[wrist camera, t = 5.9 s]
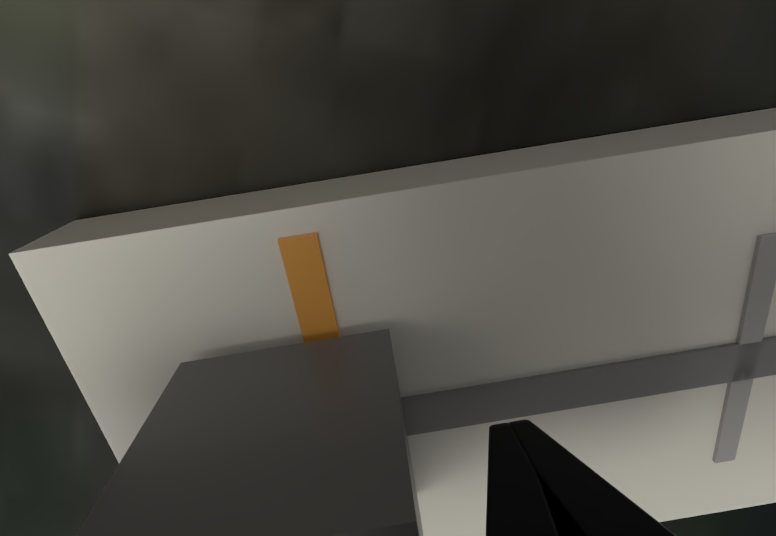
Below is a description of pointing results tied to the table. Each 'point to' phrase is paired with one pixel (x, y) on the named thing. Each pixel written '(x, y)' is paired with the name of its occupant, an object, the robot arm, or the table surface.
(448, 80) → the table surface
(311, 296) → the slider track board
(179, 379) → the fader
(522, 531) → the robot arm
